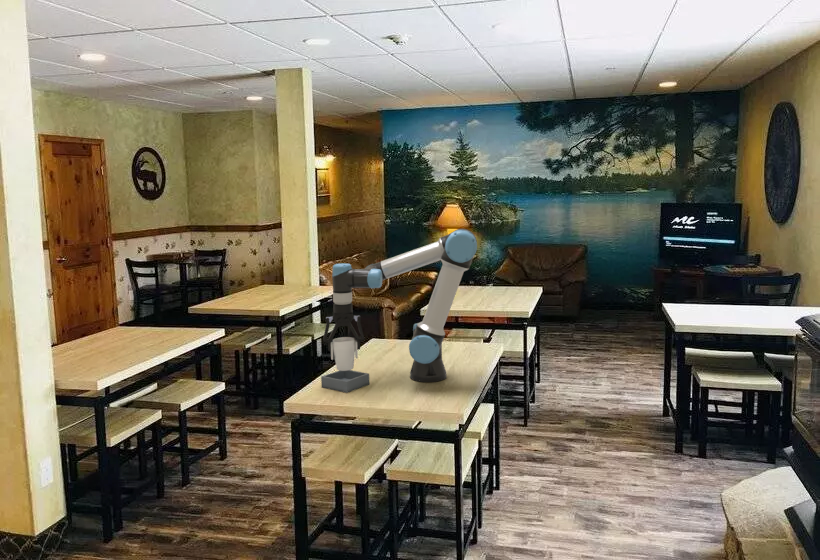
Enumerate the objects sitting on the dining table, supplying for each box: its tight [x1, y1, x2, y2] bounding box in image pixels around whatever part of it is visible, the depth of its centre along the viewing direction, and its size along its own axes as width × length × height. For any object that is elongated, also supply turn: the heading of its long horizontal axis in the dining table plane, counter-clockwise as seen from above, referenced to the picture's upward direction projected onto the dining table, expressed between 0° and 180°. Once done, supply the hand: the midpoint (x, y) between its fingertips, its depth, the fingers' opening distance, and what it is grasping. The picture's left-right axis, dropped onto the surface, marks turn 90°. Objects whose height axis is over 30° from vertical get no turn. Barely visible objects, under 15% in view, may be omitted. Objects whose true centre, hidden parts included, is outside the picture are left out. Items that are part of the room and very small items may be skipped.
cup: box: [332, 336, 356, 371], centre depth 271 cm, size 9×9×12 cm
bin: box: [320, 369, 370, 394], centre depth 272 cm, size 14×14×4 cm
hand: (344, 358), depth 271 cm, fingers closed on cup, 9 cm apart
